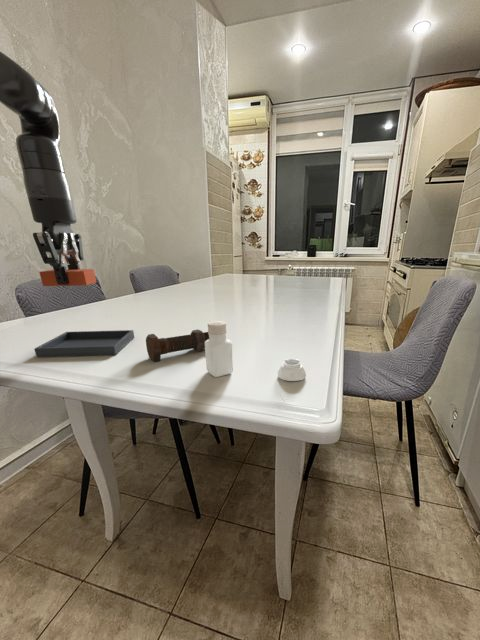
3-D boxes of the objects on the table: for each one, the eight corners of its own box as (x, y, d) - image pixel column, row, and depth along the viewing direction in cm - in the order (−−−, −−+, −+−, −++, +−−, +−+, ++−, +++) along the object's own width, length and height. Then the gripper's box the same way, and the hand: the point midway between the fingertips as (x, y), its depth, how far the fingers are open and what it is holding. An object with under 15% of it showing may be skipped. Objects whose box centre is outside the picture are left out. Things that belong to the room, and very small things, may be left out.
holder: (36, 357, 61) (34, 348, 61) (68, 339, 73) (66, 331, 72) (115, 355, 62) (114, 346, 62) (134, 337, 74) (133, 330, 73)
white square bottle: (234, 373, 53) (232, 324, 50) (214, 379, 51) (210, 327, 48) (224, 366, 57) (222, 319, 53) (205, 371, 55) (201, 322, 51)
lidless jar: (273, 380, 51) (301, 385, 49) (273, 364, 50) (302, 369, 48) (282, 369, 55) (308, 373, 53) (283, 355, 54) (309, 358, 52)
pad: (42, 286, 63) (39, 271, 61) (56, 283, 67) (52, 269, 66) (86, 285, 63) (83, 271, 62) (96, 282, 68) (94, 269, 67)
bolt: (218, 353, 68) (152, 366, 60) (209, 338, 70) (145, 349, 62) (223, 336, 64) (153, 347, 56) (214, 320, 66) (146, 329, 58)
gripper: (51, 202, 66) (69, 279, 71) (4, 192, 52) (31, 287, 58) (86, 202, 66) (101, 278, 72) (48, 192, 53) (71, 287, 59)
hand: (70, 282), depth 65 cm, fingers closed on pad, 5 cm apart
